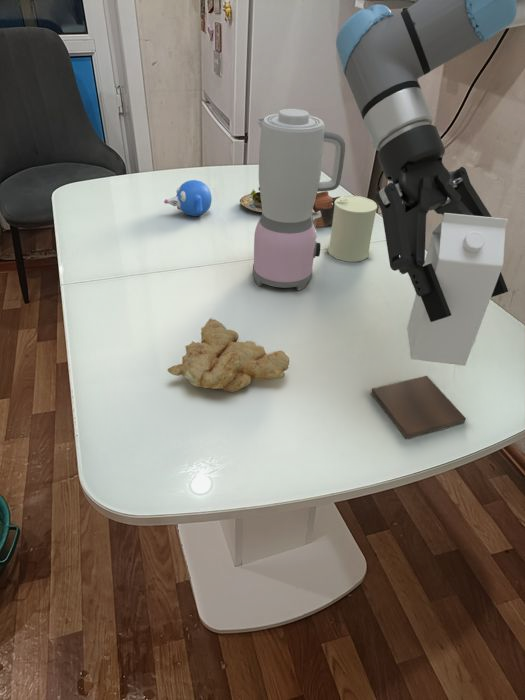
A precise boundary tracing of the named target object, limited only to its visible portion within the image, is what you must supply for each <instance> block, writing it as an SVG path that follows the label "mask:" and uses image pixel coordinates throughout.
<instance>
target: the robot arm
mask: <svg viewBox="0 0 525 700" xmlns="http://www.w3.org/2000/svg"><path fill="white" fill-rule="evenodd" d="M522 26H525V0H415V3H414V4H412V5H411V6H409V7H407V8H405V9H404V10H402V11H399V12H398V13H396V14H394V13H393V12H392V11H391V9H390V8H389V7H388V6H387V5H384V4H372V5H371V6H369V7H368V8H366V9H365V8H361V9H360V10H358V11H357V12H355V13H354V14H351V16H350V17H348V19H347V20H345V22H344V23H343V24H342V26H341V27H340V29H339V31H338V33H337V35H336V40H335V46H336V47H335V48H336V50H337V54H338V56H339V60H340V62H341V66H342V69H343V70H342V71H343V74H344V76H345V78H346V81H347V83H348V86H349V88H350V91H351V93H352V96H353V98H354V100H355V103H356V105H357V107H358V110H359V113H360V116H361V117H362V120H363V123H364V125H365V128H366V130H367V132H368V136H369V138H370V140H371V143H372V145H373V148H374V150H376V151H378V153H377V159H378V162H379V165H380V167H381V169H382V172H383V175H384V177H385V179H386V180H387V181H389V183H388V184H386V185H385V186H384V187H382V188H381V189H380V190H378V191H377V192H375V194H374V197H375V200H376V203H377V205H378V206H379V208H380V210H381V215H382V221H383V229H384V235H385V241H386V248H387V257H388V261H389V268H390V269H391V270H392V271H394V272H396V271H399V273H400V275H401V274H402V275H405V274H408V276H409V278H410V281H411V284H412V286H413V289H414V291H415V295H416V294H417V295H418V296H421V298H422V301H423V304H424V306H425V309H426V311H427V314H428V316H429V319H430V322H433V321H436V320H439V319H443V318H446V317H449V316H451V312H450V310H449V307H448V305H447V302H446V299H445V297H444V294H443V292H442V289H441V287H440V284H439V281H438V279H437V276H436V274H435V271H434V269H433V266H432V264H431V263H430V264H427V265H425V266H424V263H425V259H426V235H427V234H426V233H427V232H426V231H427V214H428V213H429V211H434V212H435V213H436V214H438V215H442V216H443V215H444V213H451V214H462V215H472V216H482V217H492V215H491V213H490V212H489V210H488V208H487V207H486V205H485V204H484V202H483V200H482V199H481V198H480V196H479V194H478V192H477V191H476V189H475V188H474V186H473V184H472V183H471V179H470V177H469V175H468V172H467V171H468V170H467V169H466V168H465V167H464V166H460V167H459V168H457V169H455V170H453V171H451V170H450V171H449V170H448V169H447V168H446V166H445V165H444V163H443V157H444V155H445V154H446V148H445V146H444V143H443V141H442V138H441V136H440V133H439V130H438V128H437V126H436V125H433V121H434V115H433V114H432V111H431V109H430V106H429V104H428V102H427V100H426V97H425V94H424V92H423V90H422V88H421V84H420V83H419V78H421V77H423V76H426V75H427V74H429V73H431V72H432V71H433V70H436V69H437V68H439V67H441V66H442V65H444V64H446V63H449V62H450V61H451V60H453V59H455V58H457V57H459V56H461V55H463V54H464V53H465V52H468V51H469V50H471V49H473V48H474V47H477V46H478V45H480V44H482V43H484V42H488V41H490V40H491V39H492V38H493V37H494V36H495V35H497V34H499V33H500V32H501V31H503V30H505V29H511V28H517V27H522ZM507 292H509V289H508V287H507V284H506V280H505V279H504V276H503V274H502V271H501V272H500V275H499V277H498V280H497V283H496V285H495V288H494V291H493V293H492V296H491V298H493V297H497V296H500V295H502V294H505V293H507Z"/></svg>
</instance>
